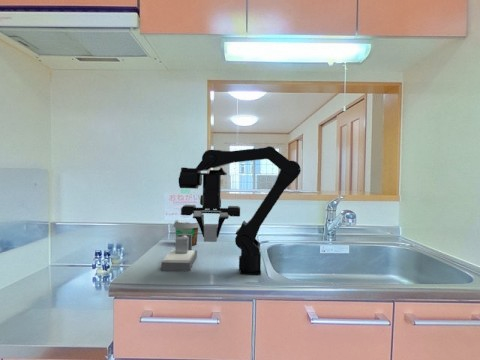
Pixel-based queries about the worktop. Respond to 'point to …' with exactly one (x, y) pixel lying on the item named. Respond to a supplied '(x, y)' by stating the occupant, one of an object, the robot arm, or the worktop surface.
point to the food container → (187, 230)
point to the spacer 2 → (210, 232)
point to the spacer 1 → (181, 245)
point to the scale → (180, 258)
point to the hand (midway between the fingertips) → (210, 237)
